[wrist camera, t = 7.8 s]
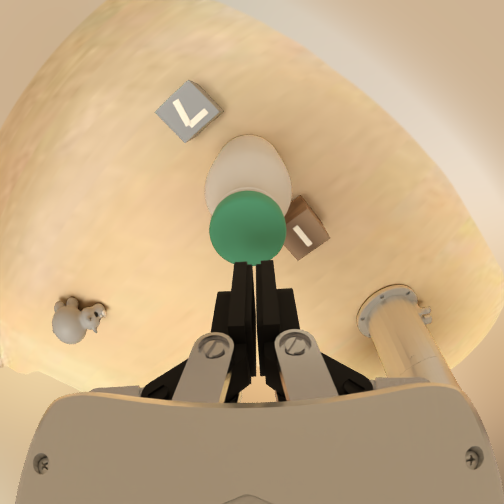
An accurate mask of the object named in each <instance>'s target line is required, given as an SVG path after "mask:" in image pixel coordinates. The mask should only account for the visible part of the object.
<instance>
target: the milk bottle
mask: <svg viewBox="0 0 504 504" xmlns="http://www.w3.org/2000/svg"><path fill="white" fill-rule="evenodd" d="M291 197H292V186H291V180H290V176H289V174H288V171H287V169H286V167H285V165H284V163H283V161H282V159H281V157H280V156H279V154H278V152H277V151H276V149H275V148H274V147H273V146H272V144H271V143H269V142H268V141H267V140H265V139H264V138H261V137H259V136H255V135H242V136H238V137H236V138H234V139H232V140H230V141H229V142H228V143H227V144H226V145H225V146H224V147H223V148H222V149H221V151H220V152H219V154H218V156H217V157H216V159H215V161H214V162H213V164H212V166H211V168H210V170H209V173H208V175H207V178H206V183H205V200H206V204H207V207H208V210H209V212H210V214H211V215H212V218H211V222H210V228H209V233H210V239H211V242H212V244H213V247H214V248H215V250H216V251H217V253H218V254H219V255H220V256H221V257H222V258H224V259H225V260H227V261H228V262H230V263H233V264H234V263H235V262H243V261H247V265H248V264H252V266H256V264H261V261H263V260H271V259H272V258H273V257H275V256H276V255H277V254H278V252H279V251H280V250H281V248H282V246H283V244H284V242H285V238H286V222H285V218H284V216H285V215H286V213H287V211H288V208H289V206H290V202H291Z"/></svg>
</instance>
